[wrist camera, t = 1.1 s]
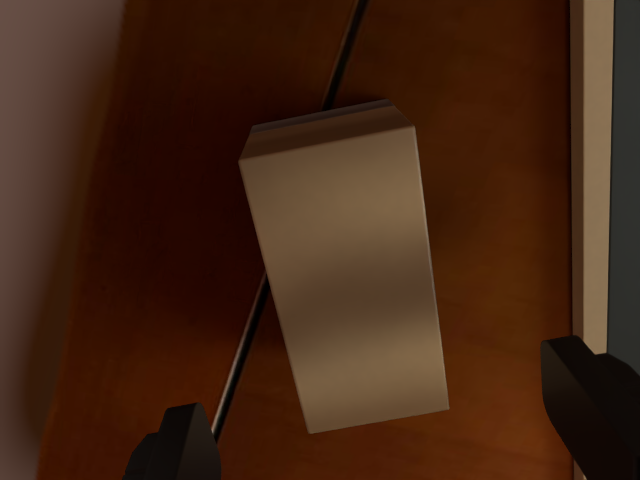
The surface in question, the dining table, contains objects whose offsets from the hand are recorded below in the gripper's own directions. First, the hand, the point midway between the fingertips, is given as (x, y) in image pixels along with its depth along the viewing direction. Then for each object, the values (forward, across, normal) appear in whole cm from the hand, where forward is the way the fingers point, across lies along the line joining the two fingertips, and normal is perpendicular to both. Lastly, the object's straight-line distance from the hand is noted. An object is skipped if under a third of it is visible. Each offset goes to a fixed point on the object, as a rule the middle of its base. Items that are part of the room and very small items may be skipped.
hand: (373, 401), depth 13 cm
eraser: (+10, 0, 0) cm, 10 cm away
